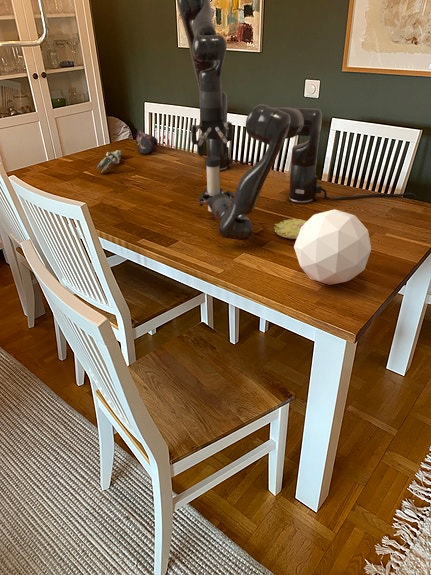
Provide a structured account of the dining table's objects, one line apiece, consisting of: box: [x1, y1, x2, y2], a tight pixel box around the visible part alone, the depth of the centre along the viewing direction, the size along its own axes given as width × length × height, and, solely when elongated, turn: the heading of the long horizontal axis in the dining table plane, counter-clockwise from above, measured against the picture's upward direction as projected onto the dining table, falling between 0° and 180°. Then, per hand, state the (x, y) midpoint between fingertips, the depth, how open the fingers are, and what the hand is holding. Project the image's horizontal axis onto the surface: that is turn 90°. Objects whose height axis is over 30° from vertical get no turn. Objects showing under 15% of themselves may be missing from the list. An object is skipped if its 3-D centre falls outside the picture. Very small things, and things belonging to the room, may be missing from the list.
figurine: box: [96, 150, 123, 174], centre depth 213 cm, size 7×8×30 cm
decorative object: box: [273, 218, 308, 240], centre depth 145 cm, size 21×2×20 cm
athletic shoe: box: [135, 130, 162, 155], centre depth 233 cm, size 11×22×12 cm
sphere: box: [293, 208, 372, 286], centre depth 116 cm, size 19×20×20 cm
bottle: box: [205, 165, 221, 213], centre depth 160 cm, size 5×5×19 cm
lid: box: [204, 156, 220, 167], centre depth 155 cm, size 5×5×2 cm
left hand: (212, 154), depth 154 cm, fingers open, 7 cm apart
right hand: (212, 191), depth 164 cm, fingers closed on bottle, 4 cm apart
